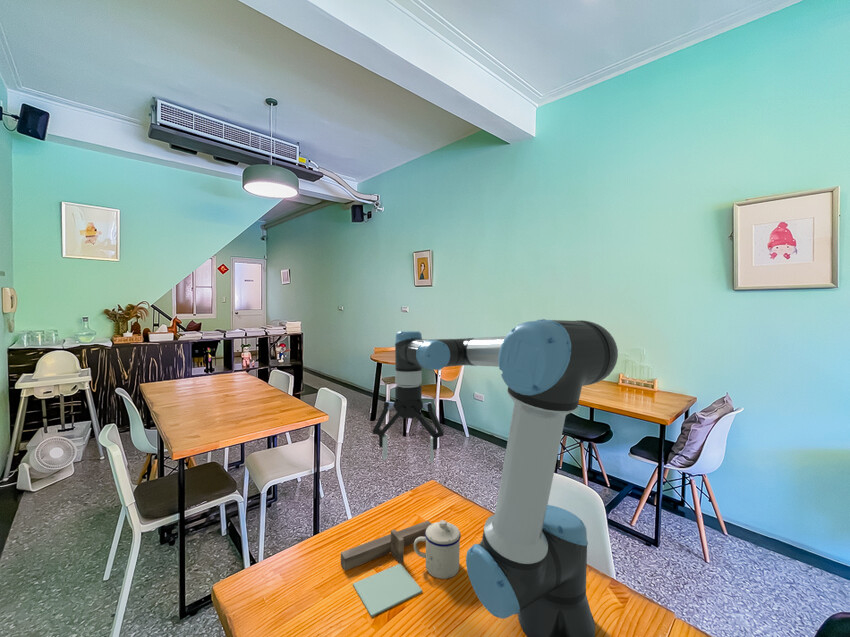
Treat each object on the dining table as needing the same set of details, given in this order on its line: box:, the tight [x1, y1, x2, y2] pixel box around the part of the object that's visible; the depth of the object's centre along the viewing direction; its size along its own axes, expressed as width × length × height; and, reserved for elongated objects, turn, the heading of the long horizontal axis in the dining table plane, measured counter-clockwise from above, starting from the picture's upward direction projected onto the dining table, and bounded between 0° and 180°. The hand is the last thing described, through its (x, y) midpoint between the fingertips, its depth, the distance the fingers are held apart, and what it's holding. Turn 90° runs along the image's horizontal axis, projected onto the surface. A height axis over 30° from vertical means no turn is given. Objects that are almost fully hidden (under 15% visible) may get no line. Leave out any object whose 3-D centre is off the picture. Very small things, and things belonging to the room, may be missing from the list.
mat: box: [352, 563, 423, 618], centre depth 83 cm, size 10×13×1 cm
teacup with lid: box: [413, 519, 462, 580], centre depth 90 cm, size 12×9×12 cm
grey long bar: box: [340, 520, 432, 572], centre depth 95 cm, size 8×27×6 cm, turn 123°
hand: (408, 459), depth 101 cm, fingers open, 13 cm apart
